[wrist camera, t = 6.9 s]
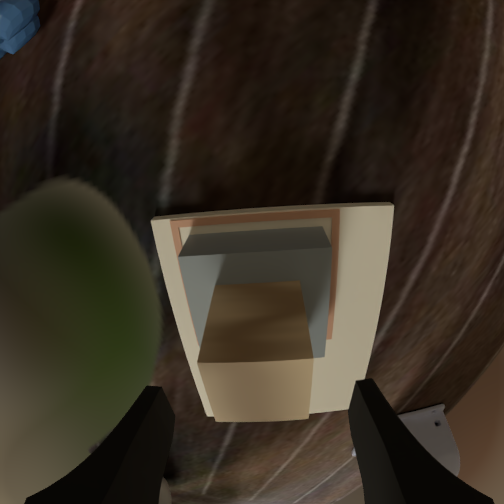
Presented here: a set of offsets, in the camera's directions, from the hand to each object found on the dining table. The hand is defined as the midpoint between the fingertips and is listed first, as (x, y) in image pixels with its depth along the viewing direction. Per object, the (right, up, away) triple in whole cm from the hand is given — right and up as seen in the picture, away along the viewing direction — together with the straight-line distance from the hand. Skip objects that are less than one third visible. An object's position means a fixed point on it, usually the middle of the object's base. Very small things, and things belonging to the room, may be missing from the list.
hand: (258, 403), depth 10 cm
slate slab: (0, +4, +7) cm, 8 cm away
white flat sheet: (+2, 0, +10) cm, 10 cm away
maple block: (0, +2, +5) cm, 6 cm away
